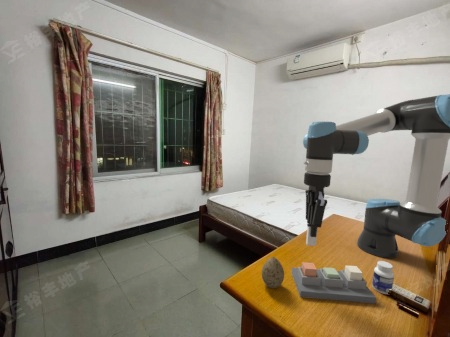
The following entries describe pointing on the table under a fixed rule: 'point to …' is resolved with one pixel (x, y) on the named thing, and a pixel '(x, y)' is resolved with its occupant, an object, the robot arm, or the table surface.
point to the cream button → (353, 273)
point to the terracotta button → (309, 269)
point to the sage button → (330, 273)
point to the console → (332, 287)
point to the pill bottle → (383, 277)
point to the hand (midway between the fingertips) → (310, 244)
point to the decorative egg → (273, 273)
